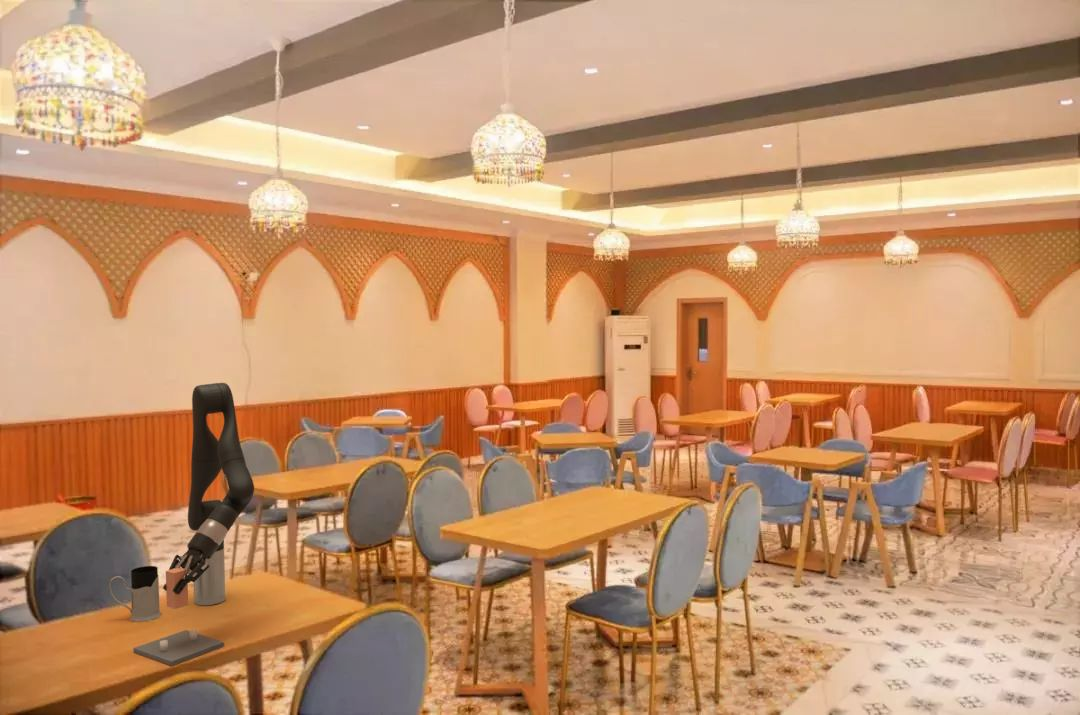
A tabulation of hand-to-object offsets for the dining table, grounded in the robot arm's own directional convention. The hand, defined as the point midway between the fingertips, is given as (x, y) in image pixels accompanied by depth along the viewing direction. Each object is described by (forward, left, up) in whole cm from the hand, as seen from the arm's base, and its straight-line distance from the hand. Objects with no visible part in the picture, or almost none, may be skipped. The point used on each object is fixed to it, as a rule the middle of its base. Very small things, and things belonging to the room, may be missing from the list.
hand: (170, 591), depth 229 cm
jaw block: (0, +2, -5) cm, 5 cm away
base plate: (0, +2, -17) cm, 17 cm away
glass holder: (-35, +10, -17) cm, 40 cm away
